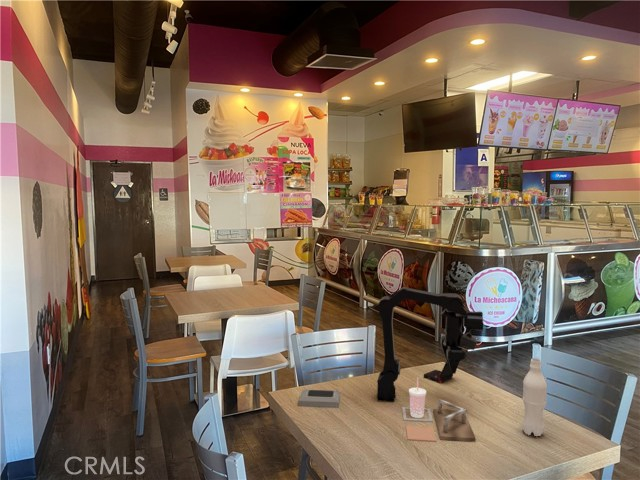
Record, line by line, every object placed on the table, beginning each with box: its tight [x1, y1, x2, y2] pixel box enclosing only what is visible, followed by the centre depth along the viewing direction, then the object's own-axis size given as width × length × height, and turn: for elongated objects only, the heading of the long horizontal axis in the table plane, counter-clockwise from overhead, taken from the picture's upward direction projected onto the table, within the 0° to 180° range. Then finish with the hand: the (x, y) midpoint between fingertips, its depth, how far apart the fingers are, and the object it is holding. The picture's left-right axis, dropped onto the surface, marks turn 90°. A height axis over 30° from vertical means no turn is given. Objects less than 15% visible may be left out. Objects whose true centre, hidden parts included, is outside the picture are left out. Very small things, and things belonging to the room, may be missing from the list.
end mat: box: [405, 425, 437, 443], centre depth 158 cm, size 9×9×1 cm
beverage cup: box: [408, 376, 427, 419], centre depth 171 cm, size 6×6×14 cm
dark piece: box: [423, 361, 454, 384], centre depth 205 cm, size 9×12×10 cm
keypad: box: [298, 388, 341, 409], centre depth 182 cm, size 10×4×15 cm
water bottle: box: [521, 357, 548, 437], centre depth 157 cm, size 7×7×25 cm
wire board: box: [432, 398, 477, 443], centre depth 163 cm, size 11×20×6 cm, turn 173°
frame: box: [401, 406, 434, 423], centre depth 171 cm, size 10×10×1 cm
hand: (451, 368), depth 179 cm, fingers open, 9 cm apart
